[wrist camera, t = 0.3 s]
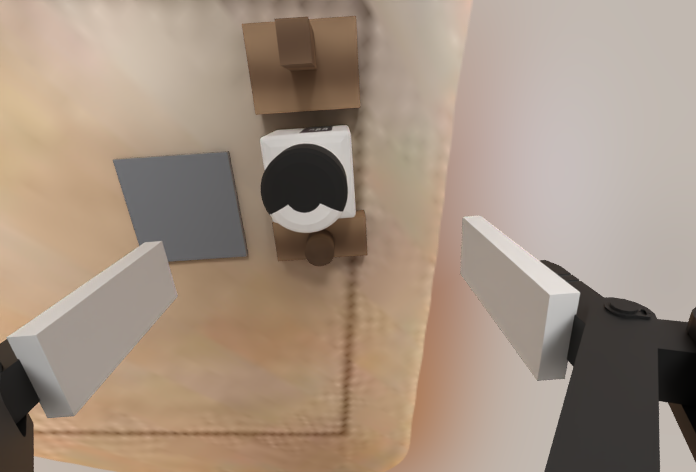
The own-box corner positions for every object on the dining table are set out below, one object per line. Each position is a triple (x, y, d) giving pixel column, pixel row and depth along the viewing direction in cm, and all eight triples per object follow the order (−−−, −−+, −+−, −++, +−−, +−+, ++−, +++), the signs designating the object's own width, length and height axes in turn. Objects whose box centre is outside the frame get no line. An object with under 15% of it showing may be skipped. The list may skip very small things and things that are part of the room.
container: (274, 129, 36) (241, 144, 24) (348, 124, 36) (353, 136, 24) (284, 201, 39) (259, 247, 27) (353, 196, 39) (359, 240, 26)
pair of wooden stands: (248, 29, 32) (219, 6, 25) (354, 22, 32) (359, -4, 24) (281, 251, 41) (267, 288, 33) (365, 246, 41) (371, 281, 33)
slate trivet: (116, 158, 37) (112, 159, 36) (228, 151, 36) (227, 151, 36) (147, 260, 41) (144, 263, 40) (248, 254, 41) (246, 256, 40)
